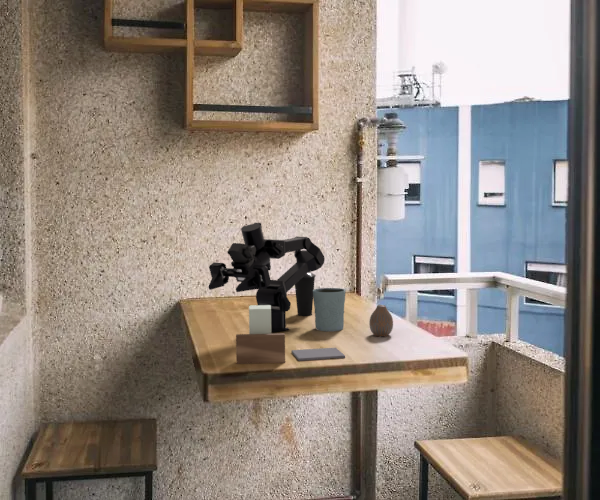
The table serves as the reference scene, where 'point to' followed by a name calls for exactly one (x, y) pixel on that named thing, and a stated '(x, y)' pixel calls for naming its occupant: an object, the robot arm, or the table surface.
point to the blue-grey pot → (329, 308)
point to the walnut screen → (260, 348)
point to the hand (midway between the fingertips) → (222, 289)
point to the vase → (381, 321)
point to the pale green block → (259, 319)
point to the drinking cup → (305, 294)
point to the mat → (317, 354)
